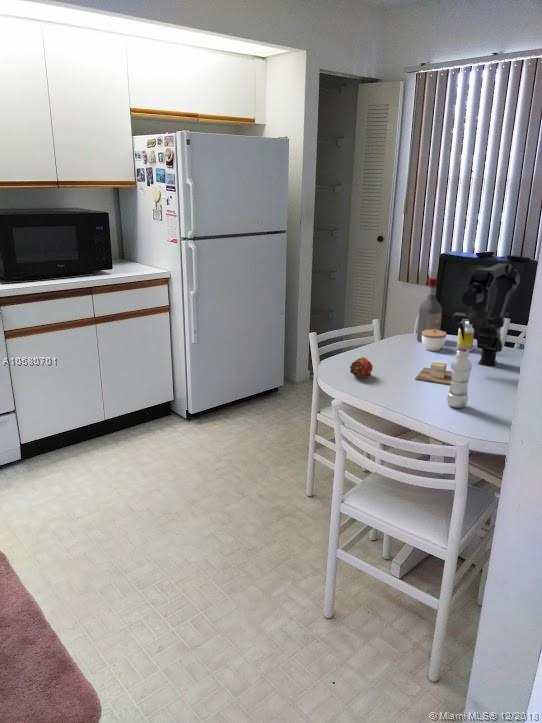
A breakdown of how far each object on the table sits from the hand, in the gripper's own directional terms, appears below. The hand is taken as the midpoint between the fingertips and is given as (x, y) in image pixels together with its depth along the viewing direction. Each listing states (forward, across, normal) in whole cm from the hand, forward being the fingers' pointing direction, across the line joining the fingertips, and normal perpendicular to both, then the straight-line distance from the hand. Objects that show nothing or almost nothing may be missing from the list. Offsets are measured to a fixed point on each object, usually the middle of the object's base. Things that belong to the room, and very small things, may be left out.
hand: (475, 340), depth 209 cm
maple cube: (+12, -11, -12) cm, 20 cm away
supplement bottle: (+13, -8, +29) cm, 33 cm away
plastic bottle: (+13, +1, -38) cm, 40 cm away
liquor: (+13, -26, +36) cm, 46 cm away
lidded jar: (+13, -21, +24) cm, 35 cm away
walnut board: (+13, -11, -12) cm, 21 cm away
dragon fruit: (+13, -38, -25) cm, 47 cm away
